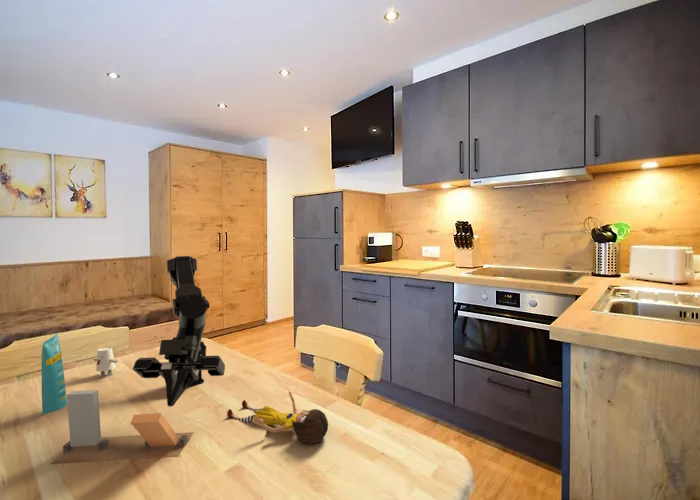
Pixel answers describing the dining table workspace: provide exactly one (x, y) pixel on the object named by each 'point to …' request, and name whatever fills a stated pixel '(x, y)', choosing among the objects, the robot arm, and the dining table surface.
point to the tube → (52, 376)
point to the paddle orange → (155, 429)
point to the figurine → (289, 421)
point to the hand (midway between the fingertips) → (170, 406)
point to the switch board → (120, 449)
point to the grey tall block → (84, 418)
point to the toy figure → (105, 361)
